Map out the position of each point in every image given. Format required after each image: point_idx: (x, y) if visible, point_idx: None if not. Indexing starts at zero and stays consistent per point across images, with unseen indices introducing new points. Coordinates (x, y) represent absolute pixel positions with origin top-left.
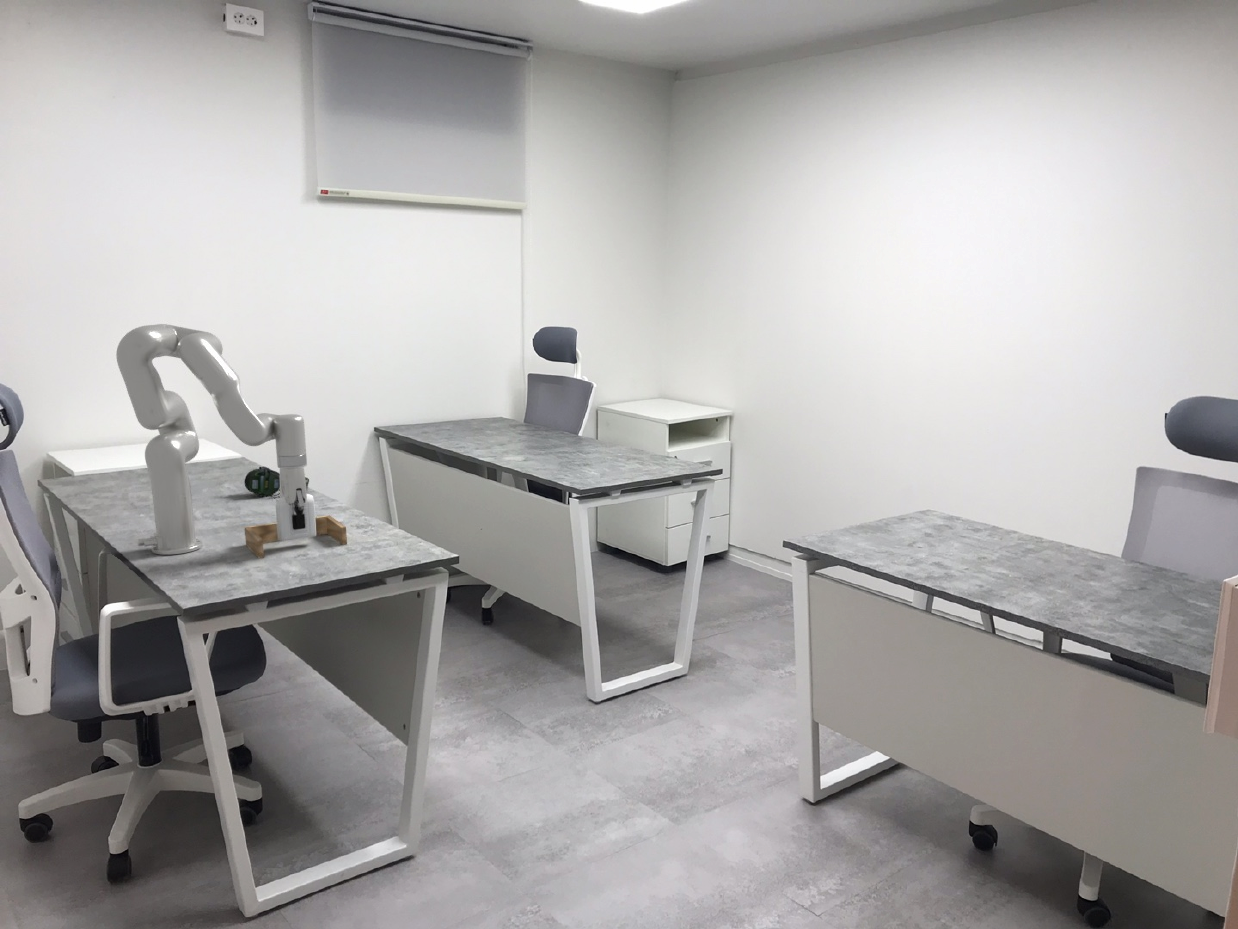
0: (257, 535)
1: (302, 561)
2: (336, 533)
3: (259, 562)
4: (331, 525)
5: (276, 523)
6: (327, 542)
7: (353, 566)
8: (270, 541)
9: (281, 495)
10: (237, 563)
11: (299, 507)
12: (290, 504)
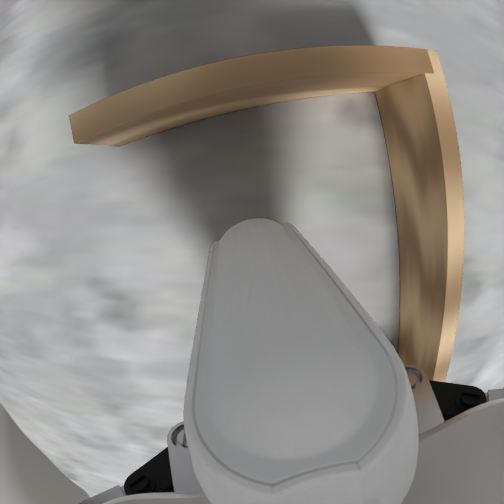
0: (186, 94)
1: (46, 302)
2: None
3: (60, 137)
4: None
5: (450, 228)
6: None
7: (21, 402)
8: (393, 176)
9: (471, 471)
10: (81, 50)
11: (88, 500)
12: (108, 502)
